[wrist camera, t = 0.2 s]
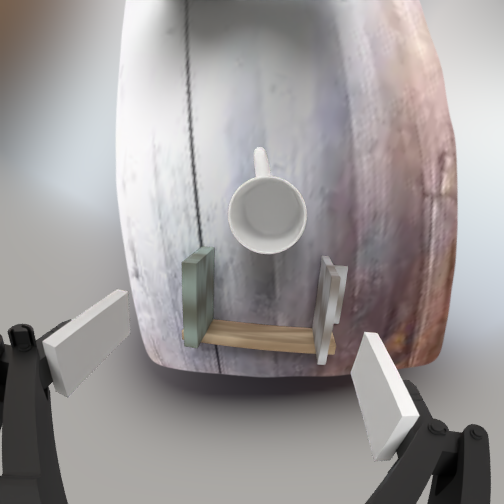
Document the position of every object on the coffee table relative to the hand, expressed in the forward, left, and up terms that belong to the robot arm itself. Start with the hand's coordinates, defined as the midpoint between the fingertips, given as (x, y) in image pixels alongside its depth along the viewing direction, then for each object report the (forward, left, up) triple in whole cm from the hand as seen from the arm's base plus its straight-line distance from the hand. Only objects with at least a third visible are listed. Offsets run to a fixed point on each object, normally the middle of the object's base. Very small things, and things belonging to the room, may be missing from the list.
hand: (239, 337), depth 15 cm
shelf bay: (+8, 0, -27) cm, 28 cm away
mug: (-6, 0, -27) cm, 28 cm away
